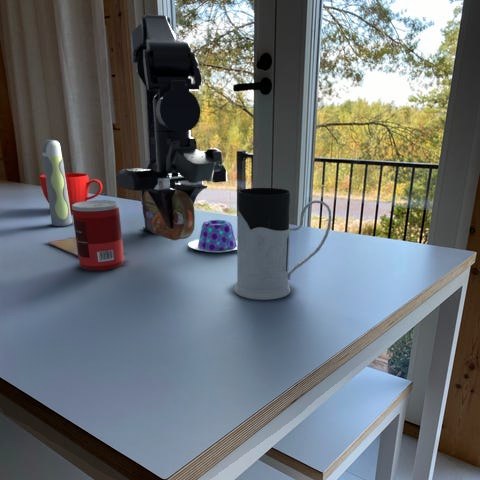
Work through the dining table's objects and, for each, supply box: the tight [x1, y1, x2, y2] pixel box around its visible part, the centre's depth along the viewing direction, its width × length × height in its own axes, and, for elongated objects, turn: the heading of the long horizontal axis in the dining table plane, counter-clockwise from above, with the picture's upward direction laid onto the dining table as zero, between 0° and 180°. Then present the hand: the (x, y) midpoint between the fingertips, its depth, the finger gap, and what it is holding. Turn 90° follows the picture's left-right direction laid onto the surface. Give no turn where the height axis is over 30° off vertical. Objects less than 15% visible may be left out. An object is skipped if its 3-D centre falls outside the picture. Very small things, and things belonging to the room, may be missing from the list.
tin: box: [141, 190, 196, 242], centre depth 84 cm, size 15×3×8 cm, turn 37°
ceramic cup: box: [39, 172, 103, 214], centre depth 135 cm, size 13×17×10 cm
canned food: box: [72, 199, 125, 271], centre depth 84 cm, size 8×8×11 cm
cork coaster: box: [47, 237, 79, 258], centre depth 97 cm, size 7×18×1 cm, turn 43°
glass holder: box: [233, 187, 332, 301], centre depth 71 cm, size 9×14×15 cm, turn 88°
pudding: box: [187, 219, 237, 253], centre depth 97 cm, size 12×12×5 cm
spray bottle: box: [41, 139, 73, 227], centre depth 115 cm, size 5×5×20 cm
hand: (177, 227), depth 83 cm, fingers closed on tin, 3 cm apart
